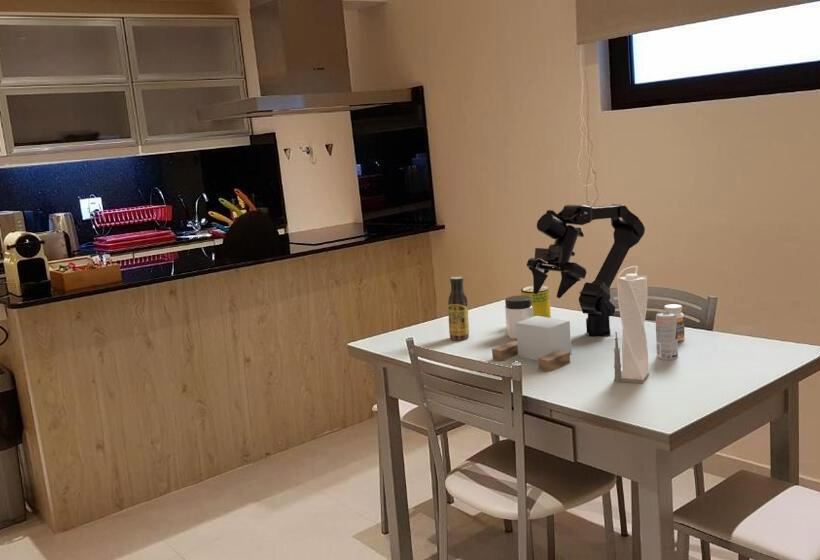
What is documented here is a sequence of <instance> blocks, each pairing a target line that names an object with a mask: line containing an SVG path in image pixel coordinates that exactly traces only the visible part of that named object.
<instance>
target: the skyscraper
mask: <svg viewBox="0 0 820 560" xmlns="http://www.w3.org/2000/svg"><path fill="white" fill-rule="evenodd" d="M632 268H635V269H634V270H635V271H634V273H626V274H625V276H621V274H622V273H623V272H624V271H625V270H629V269H632ZM638 269H639V266H638V265H630V266H629V265H628V266H627V267H624V268H623V269H621V271H619V272H618V275H617V277H616V284H617V285H616V286H617V287H616V288H617V299H618V300H617V302H618V309H619V315H620V321H621V325H622V336H621V348H620V347H619V342H618V341H619V338H618V332H617V331H615V332H614V333H615V338H614V348H613V352H614V359H613V360H614V362H613V363H614V365H613V368H614V369H613V370H614V378H613V383H615V382H616V383H627V384H639V385H640V384H641V385H643V383H645V381H646V379H648V377H649V375H650V371H649V369H650V368H649V365H650V364H649V349H648V339H647V332H646V327H645V322H646V315H647V309H648V308H647V307H648V292H649V291H648V276H647V275H639V274H638V273H637V272H638ZM620 350H621V351H620ZM620 352H621V354H620ZM621 359H622V361H621ZM621 362H622V363H621Z"/></svg>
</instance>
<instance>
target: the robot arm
mask: <svg viewBox="0 0 820 560" xmlns="http://www.w3.org/2000/svg"><path fill="white" fill-rule="evenodd" d="M620 218H621V219H620ZM604 219H605V220H606V219H610V225H611V227H612V229H614V230H613V244H612V246H611V248H610V250H609V251H608V254H607V256H606V258H605V260H604V262H603V263H602V264H601V265H602V266H601V268H600V270H599V271H598V273H597V275H596V277H595V279H594V280H593V281H592V282H585V283H584V284H583V287H582V288H581V290H580V292H579V297H578V303H579V306H580V308H581V311H582V314H586V315H587V317H586V319H585V321H586V322H585V325H586V333H587V334H588V335H587V336H588V337H601V336H603V337H605V336H607V337H608V336H611V325H610V321H611V320H610V317H612V316H613V315H615V312H616V306H615V305H614V304H612V302H611V301H610V299H611V290H610V288H611V286H612V283H613V282H614V281H615V278H616V276H617V274H618V273H619V270H620V268H621V266H622V264H623V262H624V260H625V259H626V256H627V255H628V253H629V251H630V249H632V248H633V247H635V246H636V245H637V244H638V243H639V242H640V241H641V239H642V238H643V236H644V235H645V230H646V229H645V228H646V227H645V225H644V223H643V222H642V220H641V219H640V218H639V216H637V215H636V214H634V213H633V212H632V211H630V210H629V208H628V206H626V205H624V204H621V203H619V204H617V203H616V204H615V203H612V204H610V205H599V206H589V205H583V204H580V205H579V204H566V205H564V206H563V208H562V209H561V210H560V211H559V212H558V213H557V212H556V211H554V210H553V209H547V210H546V213H544V214H543V215H542V216H540V218H539V219H538V220H537V222H536V229H537V230H538V231H539V232H540V233H542V234H544V235H545V236H547V237H548V238H550V239H553V240H554V243H553V244H550V245H549V246H548V248H546V247H545V248H544V247H543V248H541V247H535V249H534V257H530V258H529V259H528V260H527V263H526V265H525V266H526V267H528V269H529V271H531V274H532V278H533V282H532V283H533V285H532V286H533V293H534V294H537V293H538V292H539V290H540V288H541V287H542V286H544V283H545V281H546V279H547V278H548V277H549V275H548V273H550V271H552V272H560V276H561V280H560V283H559V286H558V289H557V292H556V298H557V299H561V297H563V296H564V295H565V293H567V292H568V291H569V289H570V288H572V287H573V286H574V285H575V284H577V282H581V281H582V280H581V279H583V280H584V279H585V278H586V275H587V269H586V268H585V267H583V266H582V265H580V264H578V262H572V261H571V262H570V259H571V257H575V255H576V252H574V248H575V245H576V243H577V240H578V238H584V236H585V235H584V233H583V231H582V228H581V227H575V226H573V225H577V226H584V225H587V224H590V223H591V222H592V221H595V220H604Z"/></svg>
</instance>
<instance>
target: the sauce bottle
mask: <svg viewBox="0 0 820 560" xmlns="http://www.w3.org/2000/svg"><path fill="white" fill-rule="evenodd" d="M449 282H450V288H451V290H450V294H449V296H448V299H447V300H448V302H447V303H448V305H447V308H448V309H447V310H448V315H447V316H448V331H449V338H450V339H451V340H452V341H464V340H467V339H468V338H469V336H470V327H469V326H470V325H469V307H468V298H467V296H466V294H465V293H464V278H463V276H450V281H449Z"/></svg>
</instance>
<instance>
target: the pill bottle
mask: <svg viewBox="0 0 820 560" xmlns="http://www.w3.org/2000/svg"><path fill="white" fill-rule="evenodd" d="M682 310H683V306H682V305H681V304H676V303H673V304H672V303H671V304H669V303H668V304H665V305H664V312H673V313H676V316H677V338H678V342H682V341H683V340H684V339H685V315H684V313H683V312H682Z"/></svg>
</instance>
